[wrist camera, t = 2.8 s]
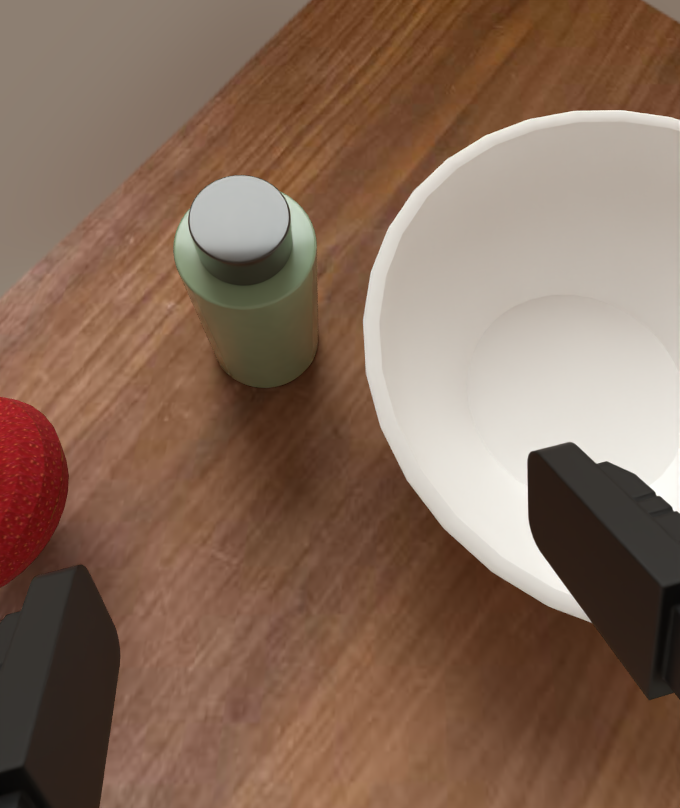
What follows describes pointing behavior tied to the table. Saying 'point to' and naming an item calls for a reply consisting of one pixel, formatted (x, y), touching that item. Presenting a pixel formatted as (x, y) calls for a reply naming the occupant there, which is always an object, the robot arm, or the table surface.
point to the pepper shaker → (252, 278)
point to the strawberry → (28, 485)
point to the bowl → (532, 324)
